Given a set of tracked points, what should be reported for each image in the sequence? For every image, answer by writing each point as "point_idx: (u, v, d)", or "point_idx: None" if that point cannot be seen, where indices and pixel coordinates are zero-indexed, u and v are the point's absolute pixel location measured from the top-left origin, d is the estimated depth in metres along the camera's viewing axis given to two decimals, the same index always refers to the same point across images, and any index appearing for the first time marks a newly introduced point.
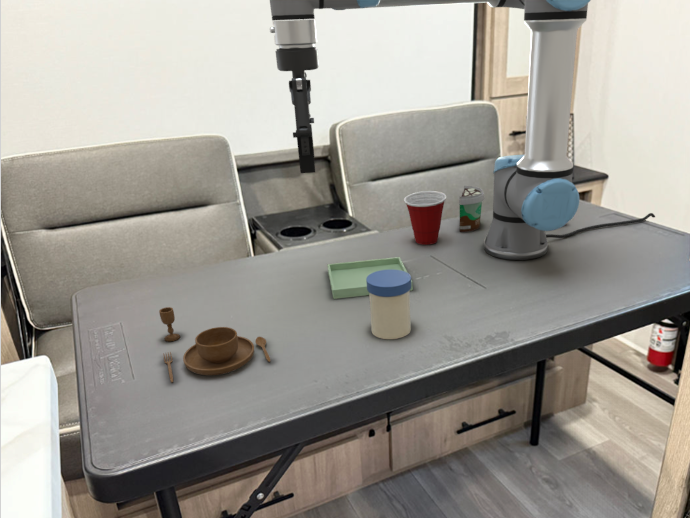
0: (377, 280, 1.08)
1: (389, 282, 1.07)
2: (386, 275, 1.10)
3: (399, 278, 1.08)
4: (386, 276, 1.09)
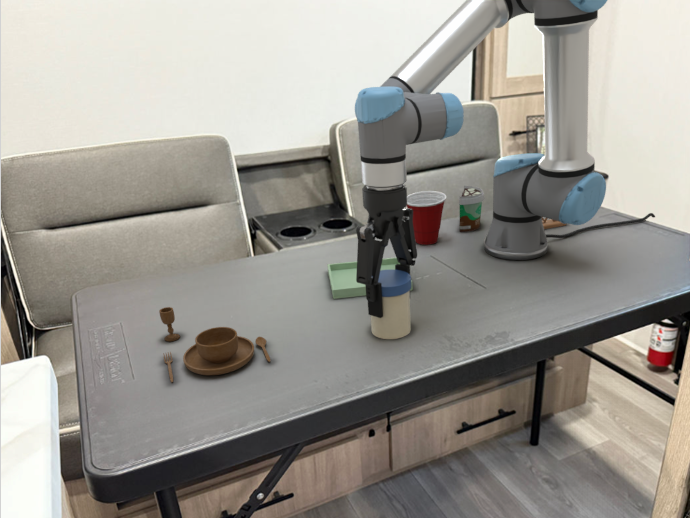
0: None
1: (389, 282, 1.07)
2: (386, 275, 1.10)
3: (399, 278, 1.08)
4: (386, 276, 1.09)
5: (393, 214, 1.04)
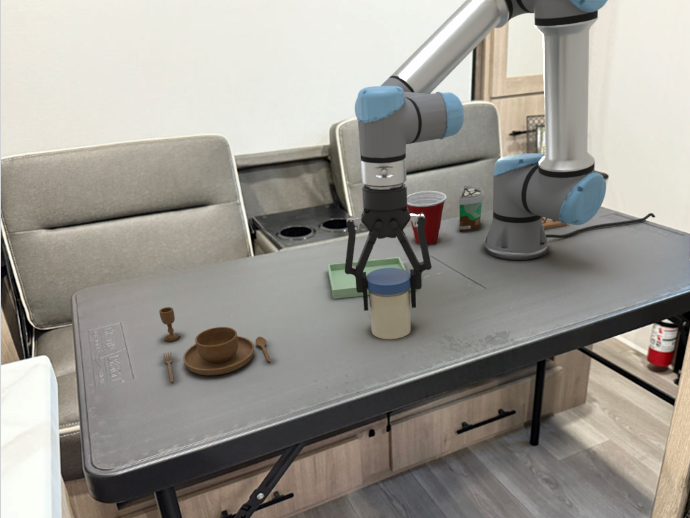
0: (399, 277, 1.08)
1: (397, 272, 1.10)
2: (383, 278, 1.08)
3: (384, 272, 1.10)
4: (386, 277, 1.08)
5: None
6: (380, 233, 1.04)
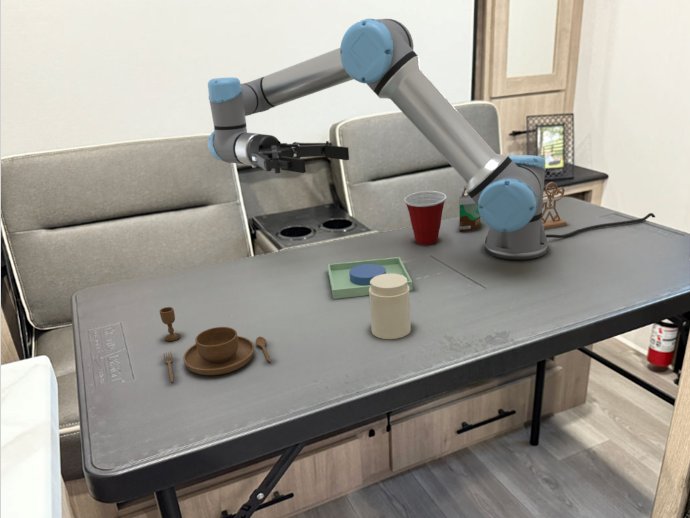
0: (377, 271, 1.33)
1: (373, 267, 1.35)
2: (364, 272, 1.32)
3: (362, 268, 1.35)
4: (366, 271, 1.33)
5: (279, 147, 1.37)
6: None
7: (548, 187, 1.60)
